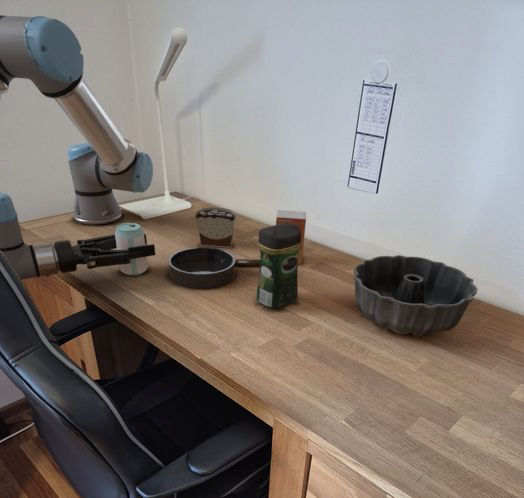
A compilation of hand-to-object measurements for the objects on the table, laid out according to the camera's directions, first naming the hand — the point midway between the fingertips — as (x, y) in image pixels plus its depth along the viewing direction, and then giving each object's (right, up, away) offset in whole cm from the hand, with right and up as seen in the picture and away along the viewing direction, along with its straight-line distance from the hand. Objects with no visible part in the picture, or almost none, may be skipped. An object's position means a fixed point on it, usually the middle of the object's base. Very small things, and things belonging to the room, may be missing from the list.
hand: (150, 244), depth 119 cm
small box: (+37, -2, +12) cm, 39 cm away
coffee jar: (+33, -16, -9) cm, 37 cm away
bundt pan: (+62, -20, -13) cm, 67 cm away
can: (-5, -7, +2) cm, 8 cm away
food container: (+16, +5, +20) cm, 26 cm away
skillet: (+13, -7, +2) cm, 16 cm away
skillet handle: (+28, -6, +2) cm, 29 cm away
